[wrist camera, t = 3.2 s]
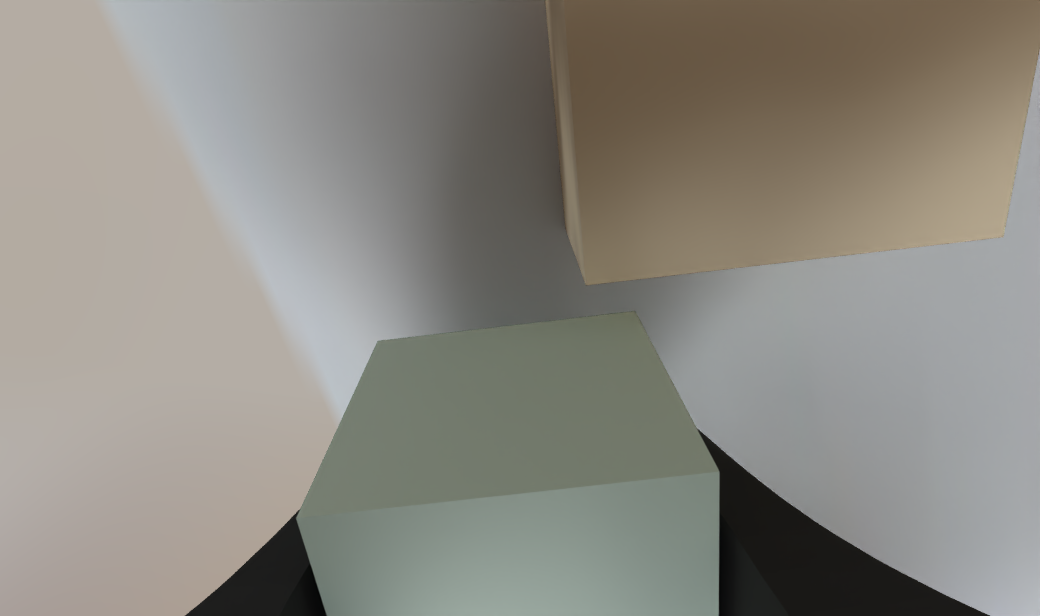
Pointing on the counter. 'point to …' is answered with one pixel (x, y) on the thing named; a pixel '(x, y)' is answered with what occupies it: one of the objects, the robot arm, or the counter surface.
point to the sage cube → (516, 480)
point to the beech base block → (784, 127)
